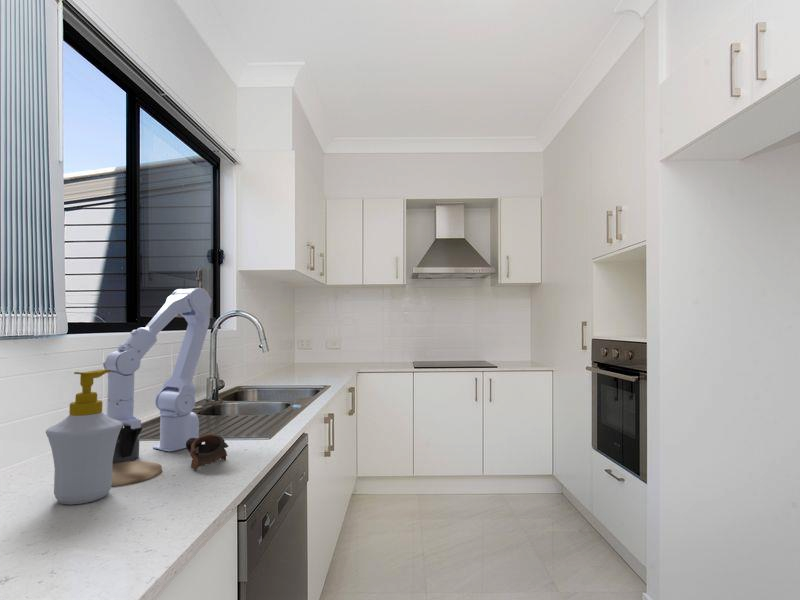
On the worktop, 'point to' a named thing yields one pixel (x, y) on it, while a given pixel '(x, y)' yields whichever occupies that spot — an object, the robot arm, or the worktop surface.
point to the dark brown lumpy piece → (206, 450)
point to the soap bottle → (84, 447)
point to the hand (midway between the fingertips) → (119, 454)
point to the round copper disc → (134, 472)
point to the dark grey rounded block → (135, 455)
